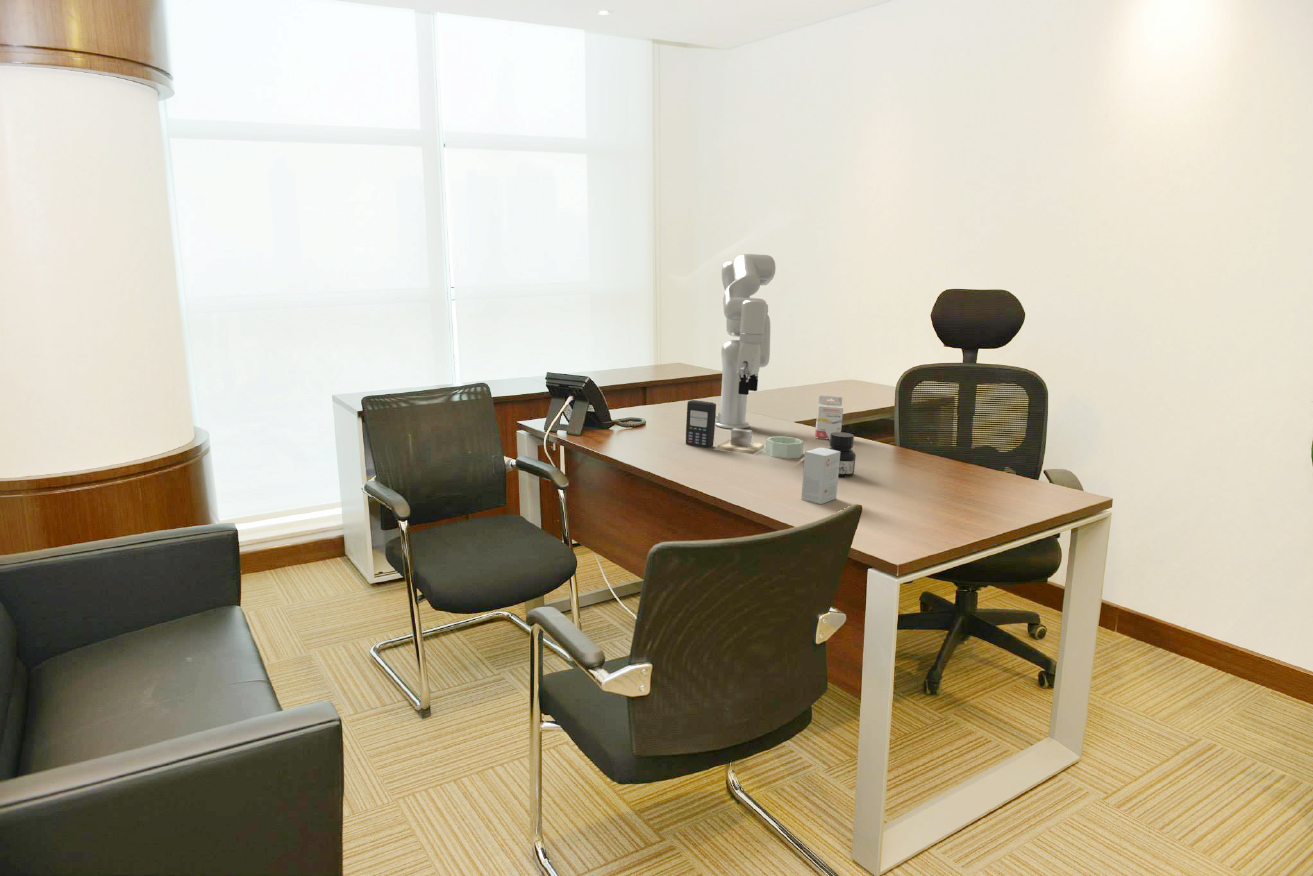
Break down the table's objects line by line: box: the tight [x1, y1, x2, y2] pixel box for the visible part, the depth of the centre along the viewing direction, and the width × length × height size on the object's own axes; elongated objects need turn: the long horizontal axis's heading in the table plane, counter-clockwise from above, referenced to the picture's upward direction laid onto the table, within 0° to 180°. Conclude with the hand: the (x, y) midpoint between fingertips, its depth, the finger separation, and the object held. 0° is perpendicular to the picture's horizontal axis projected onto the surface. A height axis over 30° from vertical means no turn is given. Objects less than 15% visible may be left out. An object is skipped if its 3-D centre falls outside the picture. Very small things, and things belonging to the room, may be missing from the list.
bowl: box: [764, 435, 804, 459], centre depth 274 cm, size 11×11×5 cm
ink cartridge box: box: [814, 395, 844, 439], centre depth 303 cm, size 9×5×15 cm, turn 84°
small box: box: [801, 447, 840, 505], centre depth 225 cm, size 8×6×13 cm
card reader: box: [685, 399, 717, 449], centre depth 279 cm, size 9×4×15 cm, turn 62°
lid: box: [716, 428, 765, 455], centre depth 279 cm, size 12×12×6 cm
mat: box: [712, 445, 766, 456], centre depth 280 cm, size 14×14×1 cm
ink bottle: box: [828, 431, 857, 478], centre depth 252 cm, size 10×9×12 cm
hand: (747, 392), depth 276 cm, fingers open, 9 cm apart
